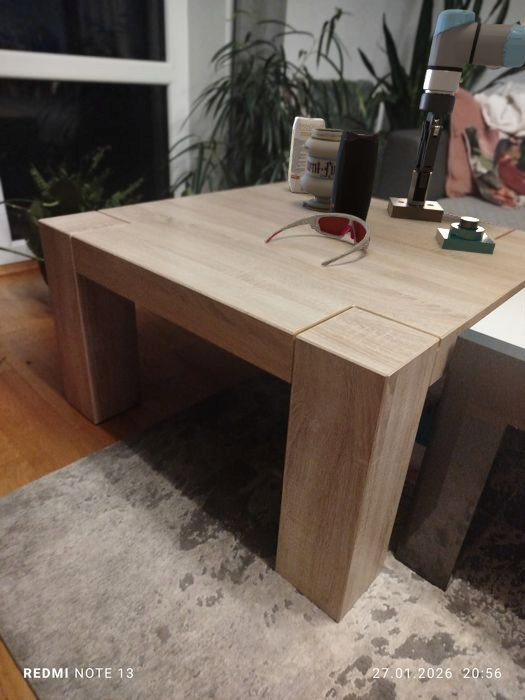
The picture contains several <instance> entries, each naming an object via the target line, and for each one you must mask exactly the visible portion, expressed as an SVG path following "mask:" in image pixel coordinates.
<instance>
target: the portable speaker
mask: <svg viewBox="0 0 525 700" xmlns="http://www.w3.org/2000/svg"><path fill="white" fill-rule="evenodd" d="M342 130H343V131H342V135H341V140H340V144H339V149H338V153H337V158H336V165H335V172H334V179H333V186H332V193H331V208H330V212H329V213H341V214H348V215H352V216H355V217H358V218H360V219H362V220H363V221H365V222H366V223H367V219H368V215H369V210H370V206H371V203H372V197H373V191H374V187H375V186H374V185H375V180H376V174H377V168H378V161H379V150H380V149H379V147H380V140H381V133H380V132H376V133H375V132H374V133H372V132H368V131H367V130H364V129H353V128H352V129H349V130H346V129H342ZM350 231H351V229H350V230H349V231H348V232H350Z"/></svg>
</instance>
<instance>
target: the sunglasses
mask: <svg viewBox="0 0 525 700" xmlns="http://www.w3.org/2000/svg"><path fill="white" fill-rule="evenodd" d="M305 225H309V226H310V228H311V229H312V230H314V231H315V232H316V233H317V234H319V235H322V236H325V237H328V238H330V239H331V238H332V239H335V240H340V239H342V238H344V237H345V236H347V235H346V234H348V233H350V234H349V235H350V236H349V237H350V239H351V240H353V245H354V246H353V247H351V248H349V249H348V250H346V251H345V252H343V253H340V254H339V255H336V256H335V257H332V258H330V259H327V260H323V261H322V262H321V263H320V265H321V266H323V267H326V266H328V265H330V264H332V263H335V262H337V261H339V260H341V259H343V258H345V257H347V256H349V255H351V254H354V253H356V252H358V251H360V250H366V251H367V250H368V249H369V246H370V242H371V237H372V236H371V234H372V233H371V227H370V226H369V224H368V223H367V221H366V222H365V221H363V220H362V219H360V218H358V217H355V216H352V215H348V214H341V213H330V212H324V213H323V212H322V213H317V214H312V215H308V216H305V217H301V218H299V219H296V220H294V221H292V222H289V223H288V224H286V225H284V226H283V227H280V228H279V229H276V230H275V231H274V232H272V233H271V234H270V235H269V236H267V238H266V239H264V243H265V244H268V243H270V241H271V240H272V239H273V238H274V237H275V236H277V235H278V234H280V233H282V232H284V231H286V230H289V229H292V228H295V227H299V226H300V227H301V226H305ZM350 229H351V231H349V230H350Z"/></svg>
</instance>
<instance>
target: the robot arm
mask: <svg viewBox="0 0 525 700" xmlns="http://www.w3.org/2000/svg"><path fill="white" fill-rule="evenodd" d="M432 36H433V37H432V43H431V47H430V53H429V58H428V64H427V68H426V73H425V77H424V82H423V87H422V89H423V91H424V92H422V94H421V97H420V102H419V108H418V110H419V111H421V112H425V113H427V116H426V119H424V120H423V121H422V126H421V127H422V128H421V133H420V140H419V144H418V148H417V152H416V153H417V154H416V157H415V161H414V164H415V169H414V170H416V173H418V175H417V180H416V185H415V189H414V194H413V199H412V201H420V202H424V199H425V195H426V190H427V186H428V181H429V177H430V173H433V172H434V166H435V162H436V157H437V155H438V154H437V153H438V151H439V150H438V149H439V145H440V141H441V137H442V133H443V131H444V122H442V120H443V119H442V118H443V114H444V115H445V114H447V115H450V114H453V112H454V109H455V106H456V101H457V96H456V95H455V93H457V92H458V91H459V86H460V83H463V80H464V78H463V77H462V73H463V70H464V66H465V65H476V66H484V67H485V68H486V69H488V70H496V71H497V70H499V69H502V68H506V69H510V68H520V67H522V66H523V65H524V64H525V17H524V18H522V19H520V20H518V21H516V22H513V23H511V24H504V23H503V24H502V23H501V24H500V23H482V22H476V13H475V12H474V11H472V10H468V9H453V8H452V9H446V10H443V11H441V12H440V13H439V15H438V17H437V21H436V25H435V29H434V33H433V35H432Z"/></svg>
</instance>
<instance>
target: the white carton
mask: <svg viewBox="0 0 525 700" xmlns="http://www.w3.org/2000/svg"><path fill="white" fill-rule="evenodd" d="M317 128H325V129H326V121H325V120H324V119H323V118H320V117H319V118H317V117H316V118H315V117H313V118H312V117H303V116H295V117H294V121H293V126H292V131H291V132H292V133H291V141H290V142H291V143H290V152H289V153H290V154H289V163H288V172H287V173H288V176H287V181H288V186H289V189H290V192H291V193H298V194H299V193H300V194H308V193H307V192H306V191H304V190H303V188H302V187H301V183H300V182H301V178H302V177H303V176H304V175H305V174H306V171H307V162H308V153H307V152H306V151H305V149H304V145H305V142H306V141H307V140H308V139H309V138H311V135H312V132H313V129H317Z"/></svg>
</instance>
